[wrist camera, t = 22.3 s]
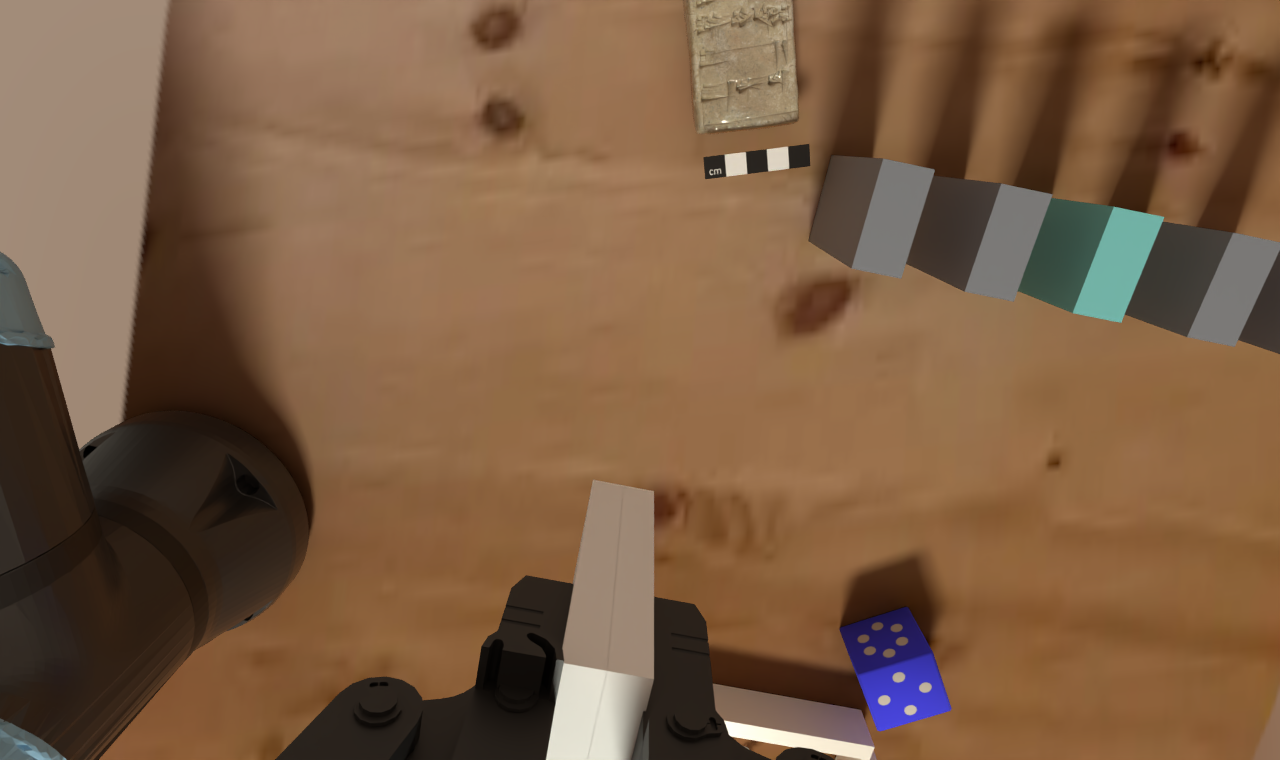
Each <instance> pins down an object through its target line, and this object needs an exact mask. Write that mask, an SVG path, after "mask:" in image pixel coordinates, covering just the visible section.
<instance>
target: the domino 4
mask: <svg viewBox="0 0 1280 760" xmlns="http://www.w3.org/2000/svg"><path fill="white" fill-rule="evenodd" d="M1279 251H1280V242H1275V241H1270V240H1266V239H1261V238H1256V237H1251V236H1247V235H1242V234H1237V233H1232V232H1226V231H1219V230H1213V229H1206V228H1200V227H1193V226H1187V225H1181V224H1174V223H1168V222H1162V224H1161V227H1160V229H1159V231H1158V234H1157V236H1156V239H1155V241H1154V244H1153V246H1152V248H1151V251H1150V253H1149V256H1148V258H1147V261H1146V263H1145V266H1144V268H1143V270H1142V273H1141V275H1140V278H1139V280H1138V283H1137V285H1136V287H1135V290H1134V292H1133V295H1132V297H1131V300H1130V302H1129V305H1128V307H1127V309H1126V312H1125V315H1128V316H1131V317H1133V318H1136V319H1139V320H1142V321H1144V322H1147V323H1150V324H1153V325H1155V326H1158V327H1161V328H1164V329H1166V330H1169V331H1172V332H1175V333H1177V334H1180V335H1183V336H1186V337H1190V338H1194V339H1199V340H1204V341H1209V342H1214V343H1219V344H1224V345H1229V346H1233V347H1235V345H1236V343H1237V341H1238V339H1239V336H1240V334H1241V332H1242V330H1243V328H1244V326H1245V324H1246V321H1247V319H1248V317H1249V315H1250V313H1251V311H1252V309H1253V306H1254V304H1255V302H1256V300H1257V298H1258V296H1259V294H1260V291H1261V289H1262V287H1263V285H1264V283H1265V281H1266V279H1267V276H1268V274H1269V272H1270V270H1271V268H1272V266H1273V264H1274V261H1275V259H1276V257H1277V255H1278V253H1279Z"/></svg>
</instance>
